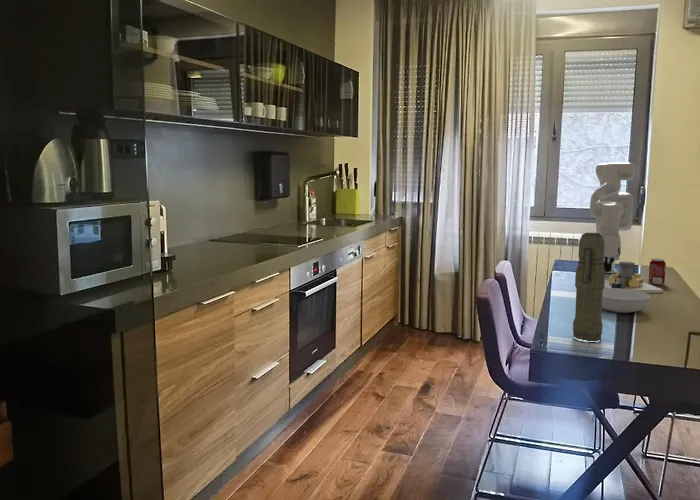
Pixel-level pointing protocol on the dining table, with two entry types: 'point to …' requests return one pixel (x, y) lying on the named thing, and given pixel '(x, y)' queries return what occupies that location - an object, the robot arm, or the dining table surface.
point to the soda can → (657, 271)
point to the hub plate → (626, 273)
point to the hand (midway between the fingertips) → (607, 271)
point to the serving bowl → (623, 300)
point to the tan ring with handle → (626, 280)
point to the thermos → (589, 288)
